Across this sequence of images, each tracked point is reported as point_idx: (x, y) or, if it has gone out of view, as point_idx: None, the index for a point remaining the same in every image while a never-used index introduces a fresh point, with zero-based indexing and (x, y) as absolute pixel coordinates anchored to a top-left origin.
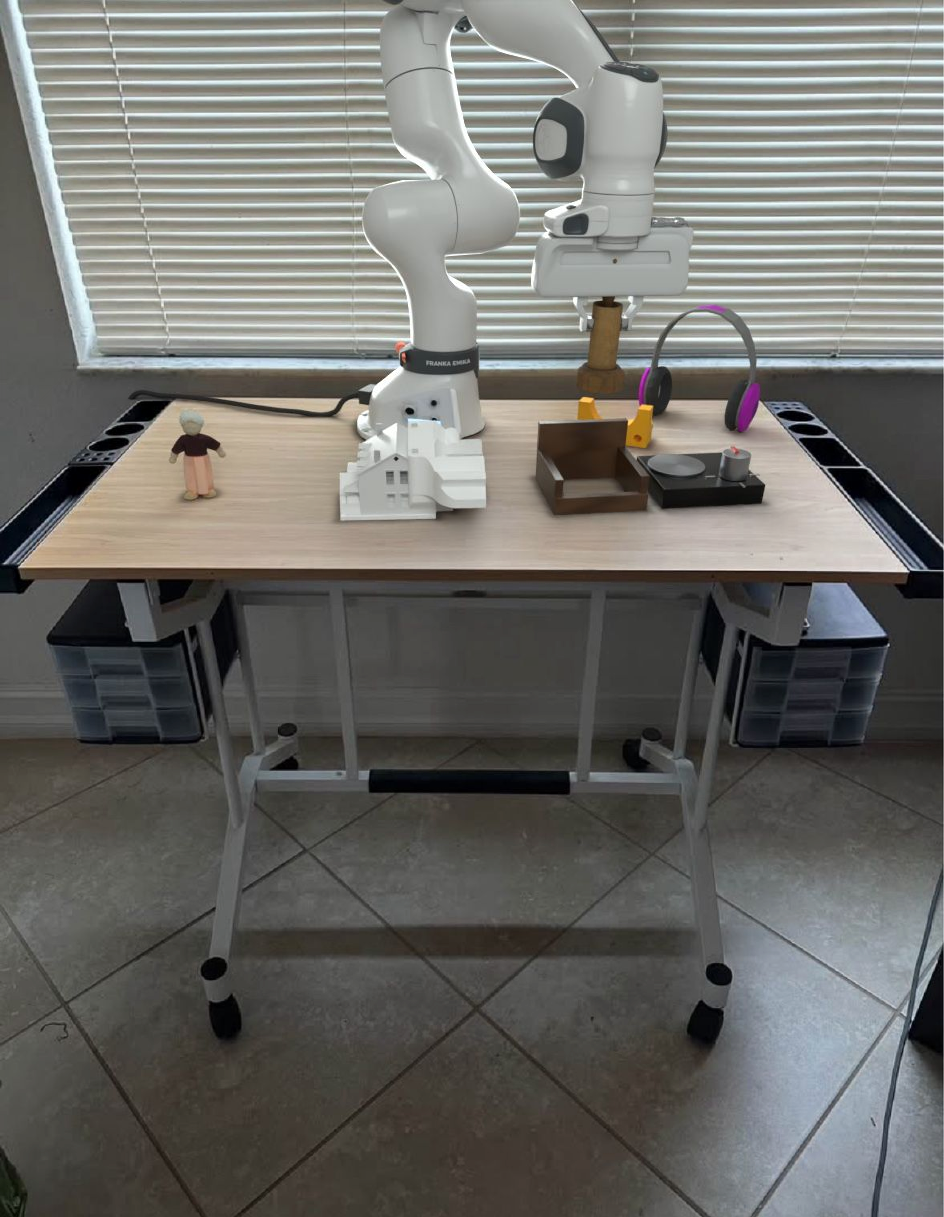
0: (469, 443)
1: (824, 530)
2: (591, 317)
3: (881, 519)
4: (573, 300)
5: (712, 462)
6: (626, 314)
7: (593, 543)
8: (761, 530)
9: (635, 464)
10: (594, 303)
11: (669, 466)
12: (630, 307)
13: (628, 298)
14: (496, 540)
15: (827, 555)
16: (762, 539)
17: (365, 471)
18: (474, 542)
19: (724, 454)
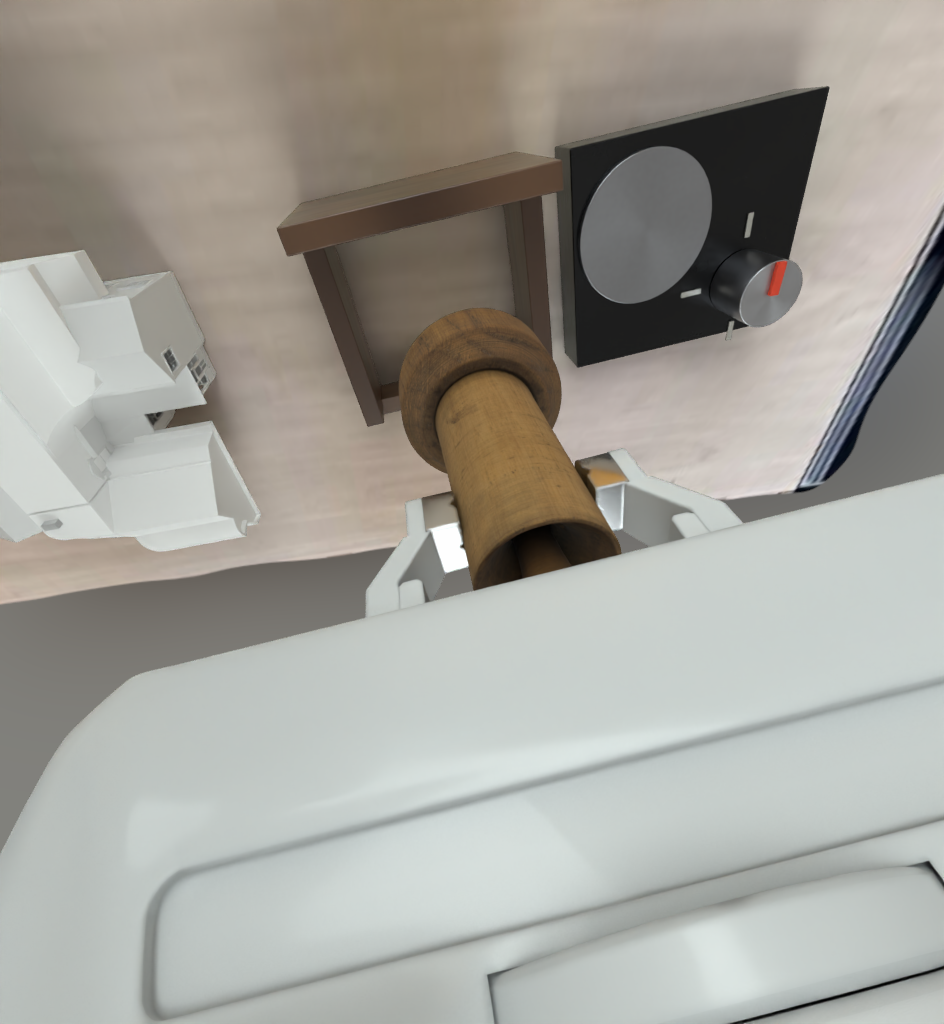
0: (120, 366)
1: (780, 398)
2: (460, 552)
3: (893, 348)
4: (367, 602)
5: (740, 189)
6: (630, 505)
7: (437, 482)
8: (691, 410)
9: (539, 322)
10: (481, 570)
11: (624, 249)
12: (663, 514)
13: (675, 531)
14: (292, 495)
15: (732, 467)
16: (676, 437)
17: None
18: (260, 505)
19: (740, 306)
